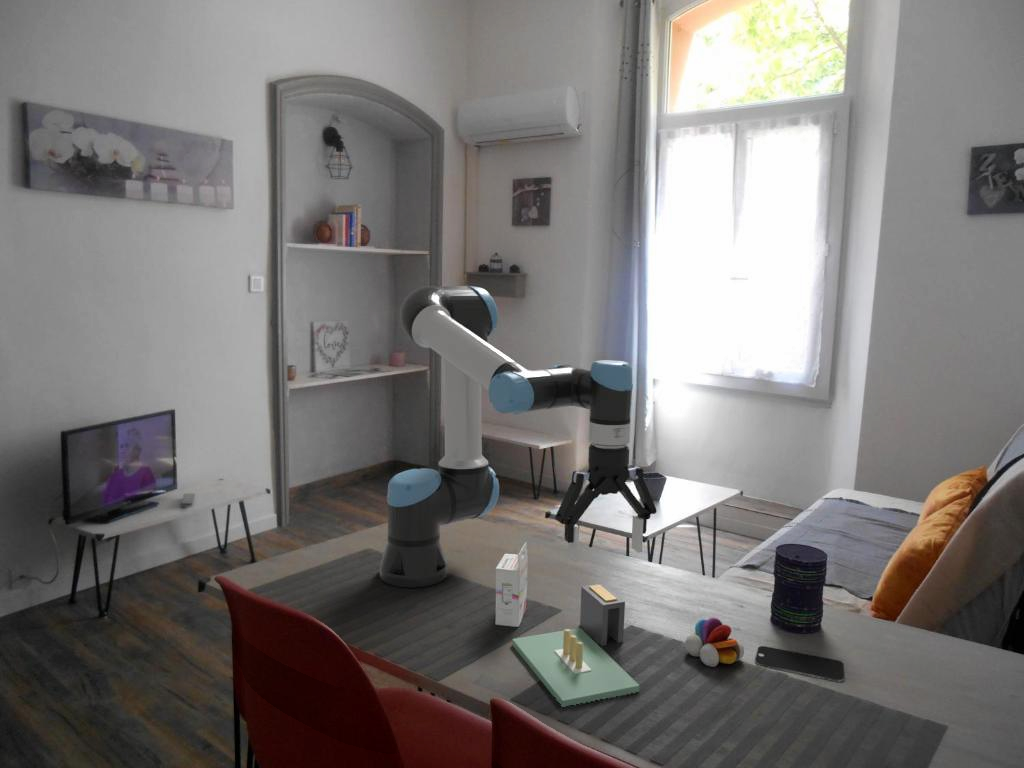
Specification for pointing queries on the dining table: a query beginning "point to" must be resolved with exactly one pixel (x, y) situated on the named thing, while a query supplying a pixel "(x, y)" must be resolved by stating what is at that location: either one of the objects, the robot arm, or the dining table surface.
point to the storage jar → (798, 588)
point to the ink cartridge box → (511, 588)
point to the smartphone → (800, 663)
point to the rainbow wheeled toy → (714, 643)
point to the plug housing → (602, 613)
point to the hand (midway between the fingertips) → (605, 554)
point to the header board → (574, 667)
